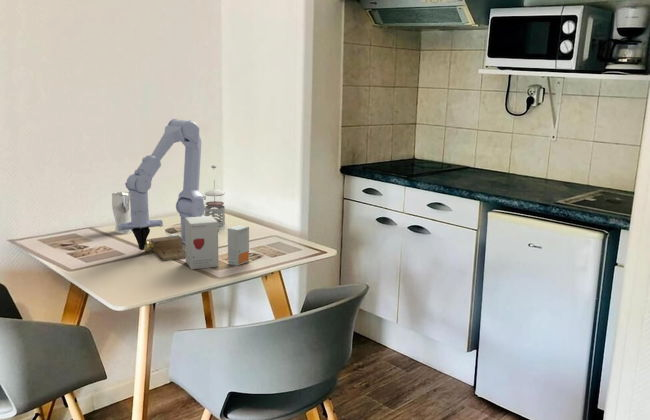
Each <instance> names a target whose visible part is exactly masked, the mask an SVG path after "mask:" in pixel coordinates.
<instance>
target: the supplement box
mask: <svg viewBox="0 0 650 420" xmlns="http://www.w3.org/2000/svg"><path fill="white" fill-rule="evenodd" d="M214 218H215V217H214ZM214 218H213V217H212V215H210V216H204V215H202V216H201V217H187V218H185V244H184V245H185V251H186V258H185V262H186V263H187V265H188V267H189V268H190V270H199V269H208V268H217V267H218V268H219V266H220V265H219V230H218V222H217V221H216V220H215V219H214Z"/></svg>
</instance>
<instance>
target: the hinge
mask: <svg viewBox="0 0 650 420" xmlns="http://www.w3.org/2000/svg"><path fill="white" fill-rule="evenodd" d="M146 241H148V242H149V244H150V243H154V248H152V249H150V251H152V252H153V253H154V254H155V255H156V256H157V257H158V258H159V259H161V260H162V261H163V262H167V261H171V260H172V261H173V259H174V260H179V259H186V249H184V248H183V243H182V238H181V235H178V234H177V235H172V236H171V235H169V236H161V237H155V238H154V237H153V238H149V239H146ZM166 260H167V261H166Z"/></svg>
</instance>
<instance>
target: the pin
mask: <svg viewBox="0 0 650 420" xmlns="http://www.w3.org/2000/svg"><path fill="white" fill-rule="evenodd" d="M152 248H154V243H150V244H149V242H148V241H146V242H145V247H144V252H146V253H148V252H149V253H150V251H151V249H152Z"/></svg>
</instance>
